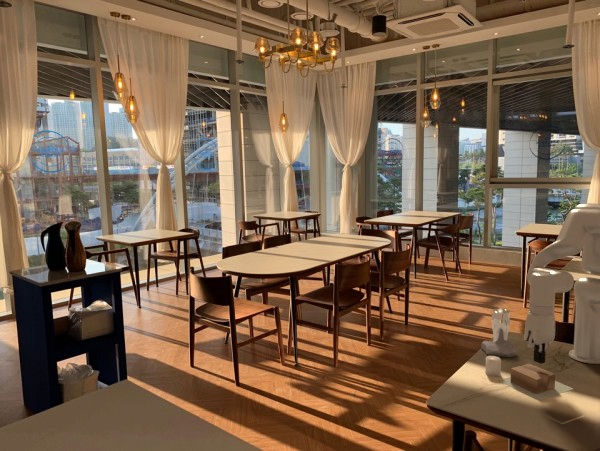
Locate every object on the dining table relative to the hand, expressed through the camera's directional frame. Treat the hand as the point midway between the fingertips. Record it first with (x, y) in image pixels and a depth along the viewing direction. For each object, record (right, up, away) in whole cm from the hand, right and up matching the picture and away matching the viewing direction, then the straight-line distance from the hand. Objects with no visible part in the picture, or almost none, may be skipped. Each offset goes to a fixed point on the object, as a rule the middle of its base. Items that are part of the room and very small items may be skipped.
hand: (539, 361), depth 160 cm
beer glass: (+2, -4, +37) cm, 38 cm away
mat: (-1, -8, 0) cm, 8 cm away
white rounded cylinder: (-12, -7, +10) cm, 17 cm away
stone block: (-1, -5, +30) cm, 30 cm away
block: (+1, -5, +1) cm, 5 cm away
